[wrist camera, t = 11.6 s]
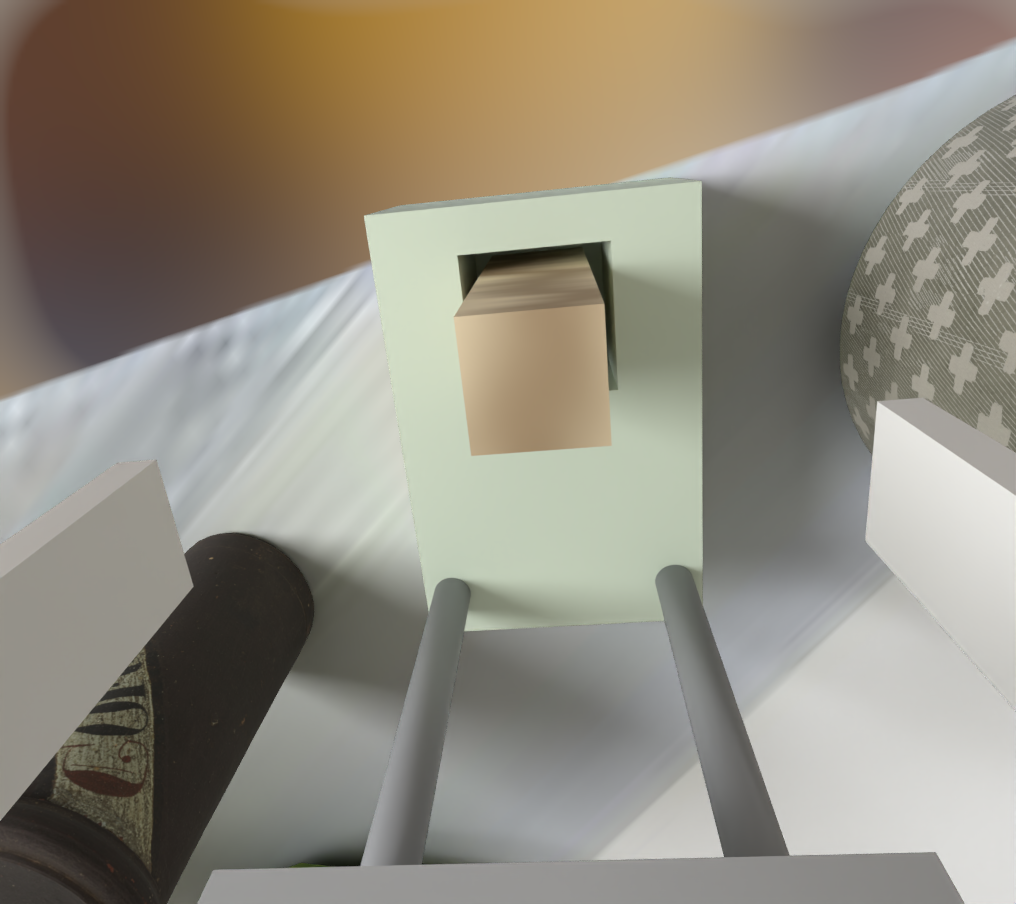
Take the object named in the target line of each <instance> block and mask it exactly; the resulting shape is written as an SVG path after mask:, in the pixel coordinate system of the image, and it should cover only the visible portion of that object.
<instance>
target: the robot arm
mask: <svg viewBox="0 0 1016 904" xmlns="http://www.w3.org/2000/svg"><path fill="white" fill-rule="evenodd" d="M865 541H866V542H867V544H868V545H869V546H870V547H871V548H872V549H873V550H874V551H875V553H876V554H877V555H878V556H879V557H880V558H881V559H882V561H883V562H884V563H885V564H886V565H887V566H888V567H889V568H890V570H891V571H892V572H893V573H894V574H895V575H896V576H897V577H898V579H899V580H900V581H901V582H902V583H903V584H904V585H905V587H906V588H907V589H908V590H909V591H910V592H911V593H912V594H913V596H914V597H915V598H916V599H917V600H918V601H919V602H920V604H921V605H922V606H923V607H924V608H925V609H926V610H927V611H928V613H929V614H930V615H931V616H932V617H933V618H934V619H935V621H936V622H937V623H938V624H939V625H940V626H941V627H942V628H943V630H944V631H945V632H946V633H947V634H948V635H949V636H950V638H951V639H952V640H953V641H954V642H955V643H956V644H957V645H958V647H959V648H960V649H961V650H962V651H963V652H964V653H965V655H966V656H967V657H968V658H969V659H970V660H971V661H972V662H973V664H974V665H975V666H976V667H977V668H978V669H979V670H980V672H981V673H982V674H983V675H984V676H985V677H986V678H987V679H988V681H989V682H990V683H991V684H992V685H993V686H994V687H995V689H996V690H997V691H998V692H999V693H1000V694H1001V695H1002V696H1003V698H1004V699H1005V700H1006V701H1007V702H1008V703H1009V704H1010V705H1011V707H1012V708H1013V709H1014V710H1015V711H1016V453H1015V452H1014V451H1012V450H1010V449H1009V448H1007V447H1005V446H1003V445H1002V444H1000V443H998V442H997V441H995V440H993V439H992V438H990V437H988V436H987V435H985V434H983V433H982V432H980V431H978V430H976V429H975V428H973V427H971V426H970V425H968V424H966V423H965V422H963V421H961V420H960V419H958V418H956V417H954V416H953V415H951V414H949V413H948V412H946V411H944V410H943V409H941V408H939V407H938V406H936V405H934V404H933V403H931V402H929V401H927V400H926V399H924V398H912V399H899V400H887V401H877V410H876V422H875V433H874V445H873V457H872V468H871V480H870V491H869V503H868V514H867V526H866V537H865ZM193 587H194V586H193V583H192V579H191V576H190V572H189V569H188V566H187V562H186V559H185V555H184V552H183V549H182V545H181V542H180V538H179V535H178V532H177V528H176V525H175V521H174V518H173V514H172V511H171V508H170V504H169V501H168V497H167V494H166V491H165V487H164V484H163V480H162V477H161V474H160V470H159V467H158V463H157V460H146V461H133V462H121V463H116V464H115V465H113V466H112V467H111V468H109V469H108V470H106V471H105V472H103V473H102V474H101V475H99V476H98V477H96V478H95V479H93V480H92V481H91V482H89V483H88V484H86V485H85V486H83V487H82V488H81V489H79V490H78V491H76V492H75V493H73V494H72V495H71V496H69V497H68V498H66V499H65V500H63V501H62V502H60V503H59V504H58V505H56V506H55V507H53V508H52V509H50V510H49V511H48V512H46V513H45V514H43V515H42V516H40V517H39V518H38V519H36V520H35V521H33V522H32V523H30V524H29V525H28V526H26V527H25V528H23V529H22V530H20V531H19V532H18V533H16V534H15V535H13V536H12V537H10V538H9V539H7V540H6V541H5V542H3V543H2V544H0V821H1V819H2V818H3V817H4V816H5V815H6V813H7V812H8V811H9V810H10V809H11V807H12V806H13V805H14V804H15V802H16V801H17V800H18V799H19V798H20V796H21V795H22V794H23V793H24V792H25V790H26V789H27V788H28V787H29V785H30V784H31V783H32V782H33V781H34V779H35V778H36V777H37V776H38V775H39V773H40V772H41V771H42V770H43V768H44V767H45V766H46V765H47V764H48V762H49V761H50V760H51V759H52V758H53V756H54V755H55V754H56V753H57V752H58V750H59V749H60V748H61V747H62V745H63V744H64V743H65V742H66V741H67V739H68V738H69V737H70V736H71V735H72V733H73V732H74V731H75V730H76V728H77V727H78V726H79V725H80V724H81V722H82V721H83V720H84V719H85V718H86V716H87V715H88V714H89V713H90V711H91V710H92V709H93V708H94V707H95V705H96V704H97V703H98V702H99V701H100V699H101V698H102V697H103V696H104V695H105V693H106V692H107V691H108V690H109V688H110V687H111V686H112V685H113V684H114V682H115V681H116V680H117V679H118V678H119V676H120V675H121V674H122V673H123V671H124V670H125V669H126V668H127V667H128V665H129V664H130V663H131V662H132V661H133V659H134V658H135V657H136V656H137V654H138V653H139V652H140V651H141V650H142V648H143V647H144V646H145V645H146V644H147V642H148V641H149V640H150V639H151V638H152V636H153V635H154V634H155V633H156V631H157V630H158V629H159V628H160V627H161V625H162V624H163V623H164V622H165V621H166V619H167V618H168V617H169V616H170V614H171V613H172V612H173V611H174V610H175V608H176V607H177V606H178V605H179V604H180V602H181V601H182V600H183V599H184V597H185V596H186V595H187V594H188V593H189V591H190V590H191V589H192V588H193Z"/></svg>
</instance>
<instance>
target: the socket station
mask: <svg viewBox="0 0 1016 904" xmlns="http://www.w3.org/2000/svg"><path fill="white" fill-rule="evenodd" d="M364 219H365V225H366V231H367V238H368V244H369V250H370V256H371V263H372V269H373V275H374V281H375V287H376V293H377V299H378V305H379V312H380V318H381V324H382V330H383V336H384V342H385V348H386V354H387V361H388V367H389V373H390V379H391V385H392V391H393V397H394V403H395V410H396V416H397V422H398V428H399V434H400V440H401V446H402V452H403V459H404V465H405V471H406V477H407V483H408V489H409V495H410V502H411V508H412V514H413V520H414V526H415V532H416V538H417V544H418V551H419V557H420V563H421V569H422V575H423V581H424V587H425V593H426V600H427V606H428V612H429V613H428V617H427V621H426V624H425V628H424V632H423V635H422V639H421V643H420V646H419V650H418V654H417V658H416V661H415V665H414V669H413V672H412V676H411V680H410V684H409V687H408V691H407V695H406V698H405V702H404V706H403V709H402V713H401V717H400V721H399V724H398V728H397V732H396V735H395V739H394V743H393V747H392V750H391V754H390V758H389V761H388V765H387V769H386V773H385V776H384V780H383V784H382V787H381V791H380V795H379V798H378V802H377V806H376V810H375V813H374V817H373V821H372V824H371V828H370V832H369V836H368V839H367V843H366V847H365V850H364V854H363V858H362V862H361V865H360V866H351V867H310V868H269V869H228V870H213V871H212V873H211V875H210V878H209V880H208V882H207V884H206V886H205V888H204V890H203V892H202V894H201V896H200V899H199V901H198V903H197V904H964V902H963V900H962V898H961V897H960V895H959V893H958V891H957V889H956V888H955V886H954V884H953V882H952V881H951V879H950V877H949V875H948V873H947V872H946V870H945V868H944V866H943V864H942V863H941V861H940V859H939V857H938V856H937V854H936V852H925V853H884V854H843V855H802V856H789V853H788V850H787V847H786V844H785V841H784V838H783V835H782V832H781V830H780V827H779V824H778V821H777V818H776V815H775V812H774V809H773V807H772V804H771V801H770V798H769V795H768V792H767V789H766V786H765V783H764V781H763V778H762V775H761V772H760V769H759V766H758V763H757V760H756V758H755V755H754V752H753V749H752V746H751V743H750V740H749V737H748V734H747V732H746V729H745V726H744V723H743V720H742V717H741V714H740V711H739V709H738V706H737V703H736V700H735V697H734V694H733V691H732V688H731V686H730V683H729V680H728V677H727V674H726V671H725V668H724V665H723V662H722V660H721V657H720V654H719V651H718V648H717V645H716V642H715V639H714V637H713V634H712V631H711V628H710V625H709V622H708V619H707V616H706V613H705V611H704V608H703V526H702V181H697V180H688V179H679V178H661V179H652V180H642V181H633V182H623V183H613V184H604V185H594V186H584V187H575V188H565V189H556V190H546V191H536V192H526V193H518V194H507V195H498V196H488V197H478V198H469V199H459V200H449V201H439V202H430V203H421V204H410V205H402V206H397V207H394V208H390V209H387V210H383V211H379V212H376V213H372V214H368V215H365V216H364ZM577 247H582V248H583V250H584V253H585V255H586V258H587V261H588V263H589V266H590V268H591V271H592V273H593V276H594V278H595V281H596V283H597V286H598V288H599V291H600V294H601V296H602V299H603V301H604V304H605V324H606V344H607V363H608V383H609V403H610V423H611V442H612V446H602V447H588V448H574V449H560V450H547V451H533V452H519V453H505V454H492V455H478V456H471V451H470V443H469V435H468V427H467V419H466V411H465V403H464V395H463V387H462V380H461V372H460V364H459V356H458V348H457V340H456V332H455V324H454V316H455V314H456V313H457V311H458V309H459V308H460V306H461V305H462V303H463V301H464V300H465V298H466V297H467V295H468V293H469V292H470V290H471V289H472V287H473V285H474V284H475V282H476V281H477V279H478V277H479V276H480V274H481V273H482V271H483V269H484V268H485V266H486V265H487V263H488V261H489V260H490V258H491V257H492V256H494V255H505V254H515V253H525V252H536V251H546V250H556V249H567V248H577ZM654 621H665V624H666V628H667V632H668V636H669V640H670V644H671V648H672V652H673V656H674V660H675V664H676V668H677V672H678V676H679V680H680V684H681V688H682V692H683V695H684V699H685V703H686V707H687V711H688V715H689V719H690V723H691V727H692V731H693V735H694V739H695V743H696V747H697V751H698V755H699V759H700V763H701V767H702V771H703V775H704V779H705V783H706V787H707V791H708V795H709V799H710V803H711V807H712V811H713V815H714V819H715V822H716V826H717V830H718V834H719V838H720V842H721V846H722V850H723V854H724V857H720V858H679V859H638V860H597V861H556V862H515V863H474V864H433V865H422V860H423V855H424V849H425V844H426V838H427V833H428V827H429V822H430V816H431V811H432V805H433V800H434V794H435V789H436V783H437V778H438V772H439V767H440V761H441V756H442V751H443V745H444V740H445V734H446V729H447V723H448V718H449V712H450V707H451V701H452V696H453V690H454V685H455V679H456V674H457V668H458V663H459V657H460V652H461V646H462V641H463V636H464V631H481V630H500V629H519V628H539V627H558V626H577V625H596V624H616V623H635V622H654Z"/></svg>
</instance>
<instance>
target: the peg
mask: <svg viewBox="0 0 1016 904" xmlns="http://www.w3.org/2000/svg"><path fill="white" fill-rule="evenodd" d="M454 324H455V332H456V340H457V348H458V356H459V364H460V372H461V380H462V387H463V395H464V403H465V411H466V419H467V427H468V435H469V443H470V451H471V456H478V455H492V454H505V453H519V452H533V451H547V450H560V449H574V448H588V447H602V446H612V442H611V423H610V403H609V383H608V363H607V344H606V324H605V304H604V301H603V299H602V296H601V294H600V291H599V288H598V286H597V283H596V281H595V278H594V276H593V273H592V271H591V268H590V266H589V263H588V261H587V258H586V255H585V253H584V250H583V248H582V247H577V248H567V249H556V250H546V251H536V252H525V253H515V254H505V255H494V256H492V257H491V258H490V260H489V261H488V263H487V265H486V266H485V268H484V269H483V271H482V273H481V274H480V276H479V277H478V279H477V281H476V282H475V284H474V285H473V287H472V289H471V290H470V292H469V293H468V295H467V297H466V298H465V300H464V301H463V303H462V305H461V306H460V308H459V309H458V311H457V313H456V314H455V316H454Z"/></svg>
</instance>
